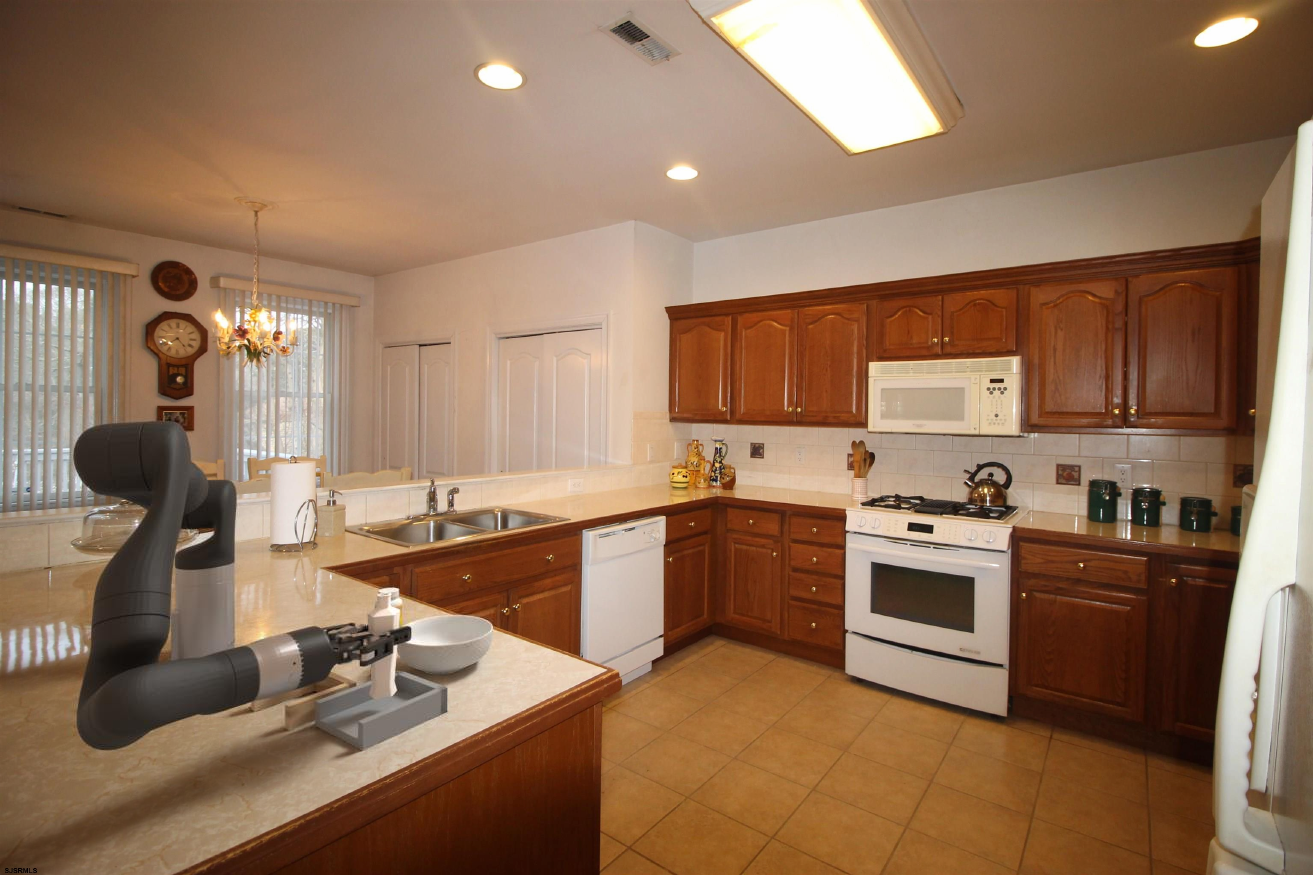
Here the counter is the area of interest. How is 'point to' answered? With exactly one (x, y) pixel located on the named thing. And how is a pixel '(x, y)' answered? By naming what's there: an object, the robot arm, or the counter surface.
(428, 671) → the cereal bowl
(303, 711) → the oak holder
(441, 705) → the grey tray
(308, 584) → the counter surface
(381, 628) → the white faceted bottle
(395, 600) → the supplement bottle
